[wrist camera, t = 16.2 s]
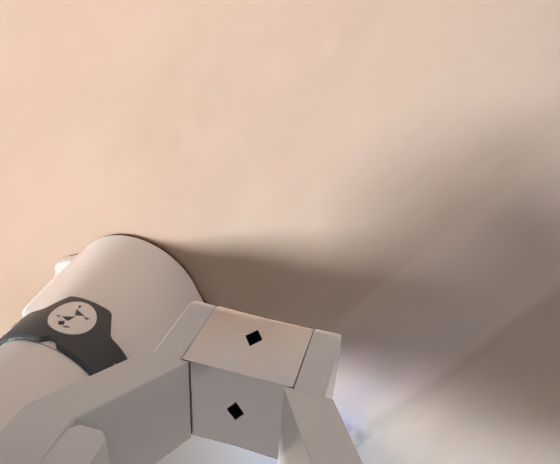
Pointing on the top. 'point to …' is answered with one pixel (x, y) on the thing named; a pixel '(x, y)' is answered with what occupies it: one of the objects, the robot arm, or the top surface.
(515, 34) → the top surface
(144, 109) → the top surface
